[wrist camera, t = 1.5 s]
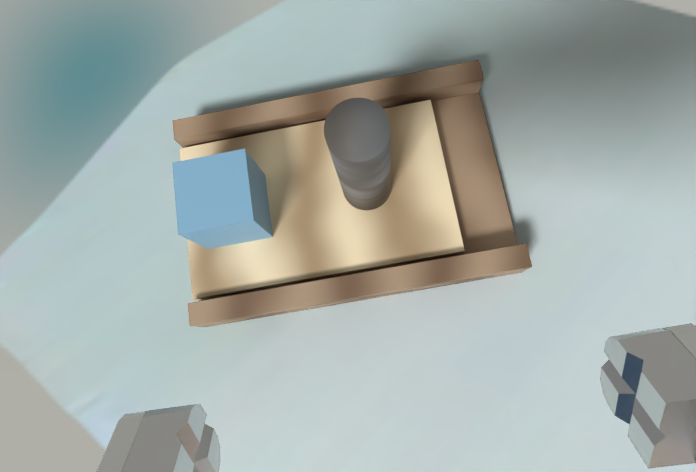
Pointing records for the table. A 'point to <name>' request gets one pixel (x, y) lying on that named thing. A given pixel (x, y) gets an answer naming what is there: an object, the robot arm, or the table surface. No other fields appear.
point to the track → (463, 173)
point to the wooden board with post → (338, 199)
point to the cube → (221, 199)
